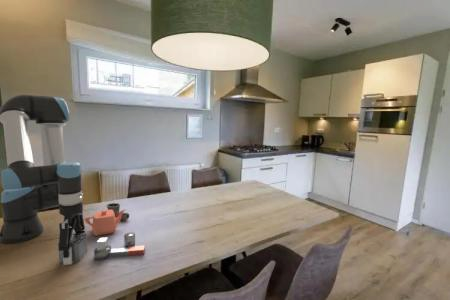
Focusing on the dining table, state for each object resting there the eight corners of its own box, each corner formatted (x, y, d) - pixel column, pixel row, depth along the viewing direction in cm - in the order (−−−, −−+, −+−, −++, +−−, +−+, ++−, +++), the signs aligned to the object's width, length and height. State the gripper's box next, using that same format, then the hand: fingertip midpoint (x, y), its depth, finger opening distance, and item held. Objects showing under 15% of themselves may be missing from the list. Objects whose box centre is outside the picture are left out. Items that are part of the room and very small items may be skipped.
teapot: (86, 228, 112) (85, 208, 110) (125, 222, 120) (125, 203, 119) (84, 239, 102) (83, 218, 100) (127, 232, 110) (126, 211, 109)
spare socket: (123, 248, 96) (123, 237, 95) (125, 243, 100) (125, 232, 100) (134, 247, 97) (134, 237, 96) (136, 242, 101) (135, 232, 101)
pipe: (124, 223, 119) (124, 208, 118) (103, 219, 122) (103, 205, 121) (131, 218, 125) (131, 204, 124) (111, 215, 128) (111, 202, 127)
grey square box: (59, 262, 85) (58, 243, 84) (68, 252, 92) (67, 234, 91) (79, 261, 87) (78, 242, 85) (86, 250, 93) (86, 232, 92)
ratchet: (91, 261, 87) (91, 244, 86) (97, 252, 93) (96, 236, 92) (143, 256, 91) (143, 240, 90) (145, 248, 97) (145, 233, 96)
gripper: (68, 213, 76) (71, 273, 79) (92, 193, 98) (94, 241, 101) (43, 214, 75) (47, 275, 78) (73, 193, 96) (75, 242, 99)
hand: (73, 256), depth 89 cm, fingers open, 9 cm apart
